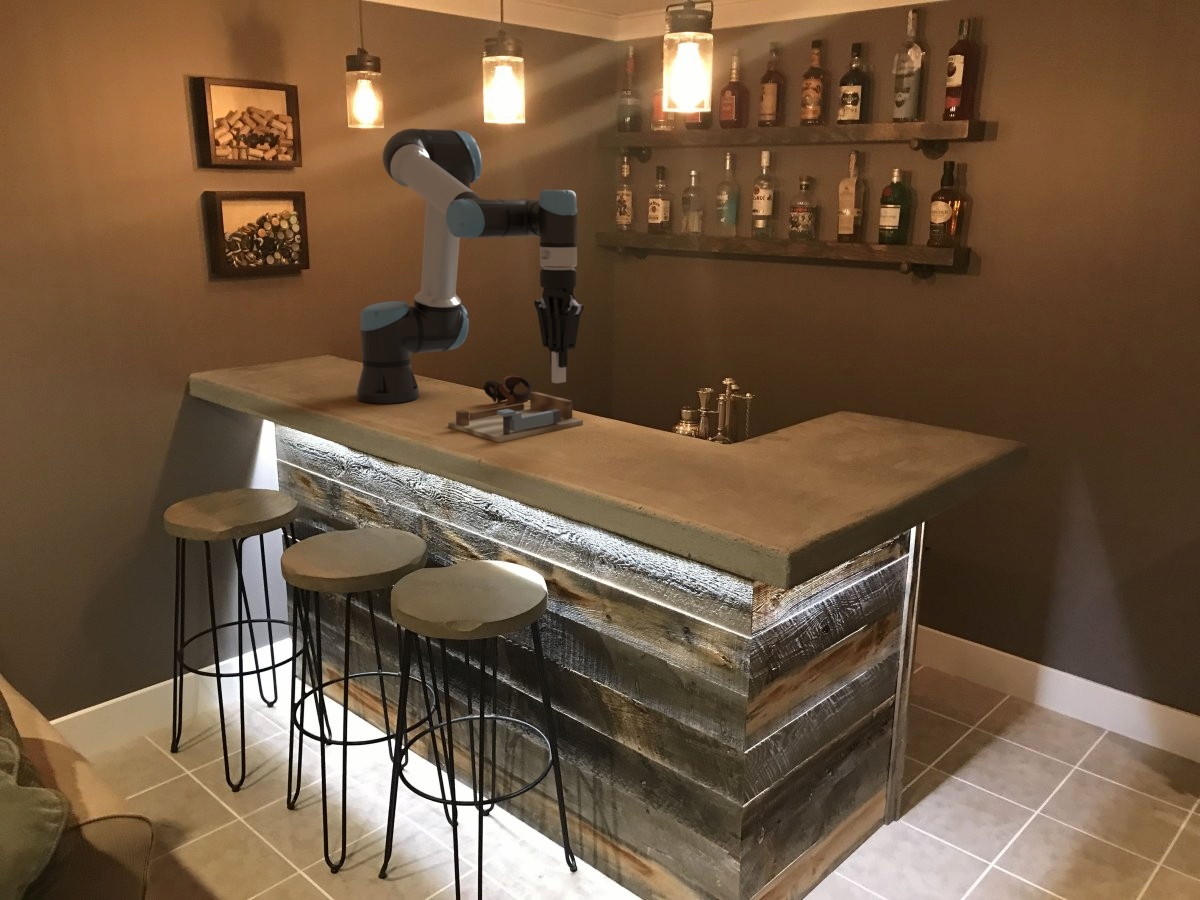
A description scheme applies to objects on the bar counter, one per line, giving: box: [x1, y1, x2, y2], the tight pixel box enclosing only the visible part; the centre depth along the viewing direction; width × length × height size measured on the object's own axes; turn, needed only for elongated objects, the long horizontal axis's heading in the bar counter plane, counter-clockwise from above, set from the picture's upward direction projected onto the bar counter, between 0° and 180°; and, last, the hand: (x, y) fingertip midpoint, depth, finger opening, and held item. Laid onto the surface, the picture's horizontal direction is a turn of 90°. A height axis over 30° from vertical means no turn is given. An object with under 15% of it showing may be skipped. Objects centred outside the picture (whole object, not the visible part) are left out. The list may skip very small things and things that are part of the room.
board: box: [447, 391, 584, 443], centre depth 216 cm, size 18×24×5 cm
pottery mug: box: [483, 375, 533, 406], centre depth 235 cm, size 12×9×8 cm
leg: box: [497, 409, 561, 431], centre depth 209 cm, size 16×3×5 cm, turn 134°
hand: (558, 382), depth 203 cm, fingers closed
